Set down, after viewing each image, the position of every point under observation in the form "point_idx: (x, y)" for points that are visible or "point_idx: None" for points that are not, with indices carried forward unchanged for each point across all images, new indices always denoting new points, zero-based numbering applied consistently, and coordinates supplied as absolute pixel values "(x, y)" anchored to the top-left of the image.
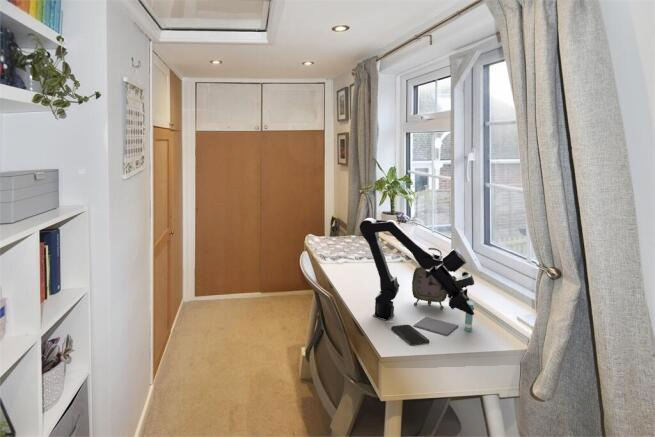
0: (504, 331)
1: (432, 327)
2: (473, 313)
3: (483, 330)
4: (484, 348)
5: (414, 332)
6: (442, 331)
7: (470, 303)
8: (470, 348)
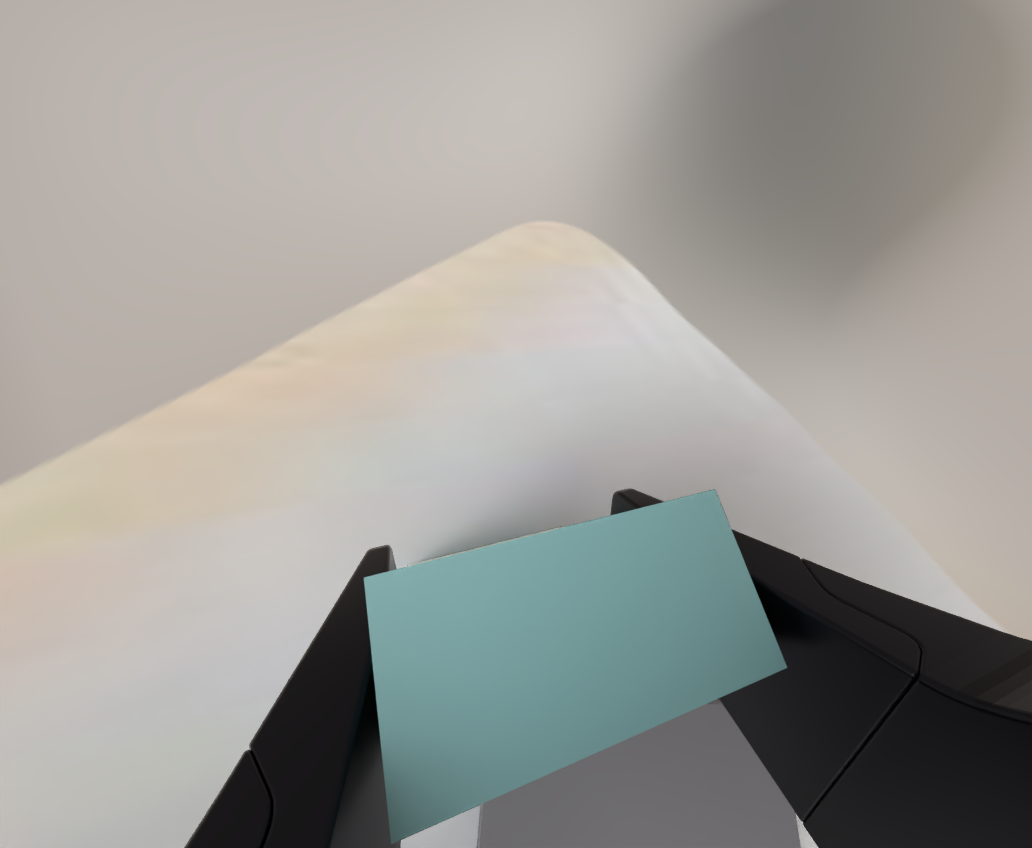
0: (375, 303)
1: None
2: (638, 498)
3: (448, 445)
4: (745, 394)
5: None
6: (754, 785)
7: (637, 598)
8: (809, 468)
